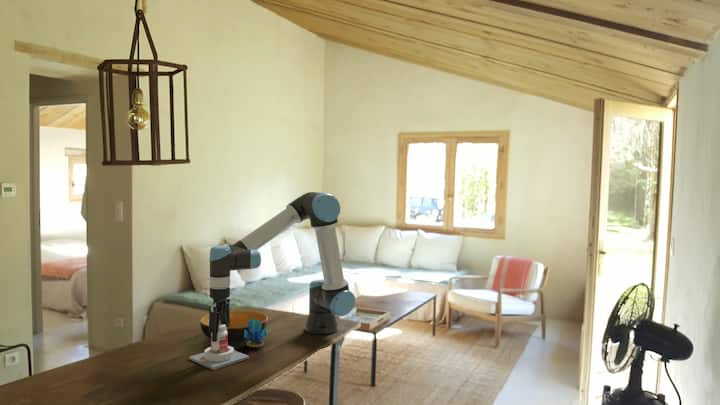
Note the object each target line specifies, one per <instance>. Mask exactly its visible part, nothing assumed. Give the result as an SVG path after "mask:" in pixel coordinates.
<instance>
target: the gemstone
mask: <svg viewBox="0 0 720 405" xmlns="http://www.w3.org/2000/svg"><path fill="white" fill-rule="evenodd" d="M246 323H247V327H248V330H249V331H248V330H246V329H244V335H243V338H244V339H246V340H247V342H246V346H247V347H248V346H249V347H248V348H252V347H253V348H255V347H256V348H261V347H263V346H264V345H265V341H263V340H264V339H265V338H266V337H267V336H268V329H267V327H265V328H264V329H263V328H262V327H263V326H262V322H261V321H260V320H258V319H256V318H254V317H253V318H251V319H250V320H248V321H247V322H246ZM262 329H263V330H262Z"/></svg>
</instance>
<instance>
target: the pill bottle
mask: <svg viewBox="0 0 720 405" xmlns="http://www.w3.org/2000/svg"><path fill="white" fill-rule="evenodd" d="M225 329H226V325H224V324H221V323H219V330H218V332H219V350H212V333H210V347H211V353H216V354H219V353H225V352H227V350H228V346H229V345H228V340H229V339H228V338H229V335H228V330H227V331H226V330H225Z"/></svg>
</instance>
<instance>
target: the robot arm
mask: <svg viewBox="0 0 720 405" xmlns="http://www.w3.org/2000/svg"><path fill="white" fill-rule="evenodd" d="M340 214H341V204H340V202H339V200H338V198H337V197H336V196H334V195H333V194H330V193H327V192H316V191H310V192H306V193H304V194H302V195H300V196H298V197H297V198H296V199H295V198H294V200H292V201H291V202H290V203H288V204H287V205H286V207H285V209H283V210H282V211H280V212H279V213H277V214H276V215H275V216H273V217H272V218H270V219H269V220H268V221H266V222H264V223H263V224H261V225H260V226H259V227H257V228H256V229H254V230H253V231H251V232H250V233H248V234H247V235H245V236H244V237H242V238H241V239H239V240H238V241H237V242H236V241H235V243H233V244H227V245H217V246H213V247H211V248H210V250H209V258H208V260H209V277H208V280H209V298H210V299H212V300H213V301H212V306H210V305H209V306H208V313H209V314H208V315H209V316H208V333H210V334H211V333H212V350H219V332H218V330H219V324H224V325H226V329H225V330H226V331H227V332H228V328H229V327H230V326H231V325H230V323H231V313H230V309H231V308H230V306H231V305H230V303H231V298H230V297H231V287H230V286H231V272H232V271H242V270H244V271H245V270H255V269H258V268H259V267H260V265H261V264H262V256H261V253H260V250H259V249H260V248H262V247H263V246H265V245H266V244H268V243H269V242H271V241H272V240H273V239H276V238H277V237H278V236H279V235H281V234H282V233H283V232H285V231H286V230H288V229H289V228H290V227H292V226H294V225H295V224H300V223H302V222H304V221H306V220H309V222H310V227H311V228H312V229H314V230H315V236H316V242H317V248H318V253H319V258H320V264H321V270H322V271H321V272H322V276H323V279H315V280H311V281H310V282H309V287H308V290H309V291H308V292H309V295H308V296H309V297H308V298H309V300H308V304H309V306H308V311H309V312H308V315H307V319H306V323H304V324H305V325H304V331H306V332H307V333H309V334H313V335H330V334H333V333H336V332H337V331H338V330H339V324H338V322H337V318H336V316H338V317H344V316H347V315H348V314H350V313H351V312H352V311H353V309H354V308H355V305H356V297H355V294H354V293H353V292H352V291H351V290H350V287H349V282H348V280H346V279H345V278H344V273H343V265H342V261H341V254H340V248H339V243H338V237H337V230H336V226H337V224H338V223H339V222H338V221H339V220H338V217H339V215H340Z"/></svg>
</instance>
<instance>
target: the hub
mask: <svg viewBox="0 0 720 405" xmlns="http://www.w3.org/2000/svg"><path fill="white" fill-rule="evenodd" d="M246 359H247V360H249V359H250V356H249V355H247V354H245V353H242V352H239V351H237V350H235V349H234V347H233V346H230V345H228V350H227V352H225V353H219V354H216V353H211V346H209V347H207V348H206V349H204V352H200V353H198V354H194V355H191V356H189V357H188V360H189V361H192V362H195V363H197V364H199V365H201V366H203V367H205V368H208V369H209V370H212V371H215V370H219V369H222V368H224V367H228V366H231V365H234V364H237V363H240V361H241V362H243V360H244V361H247V360H246Z"/></svg>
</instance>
